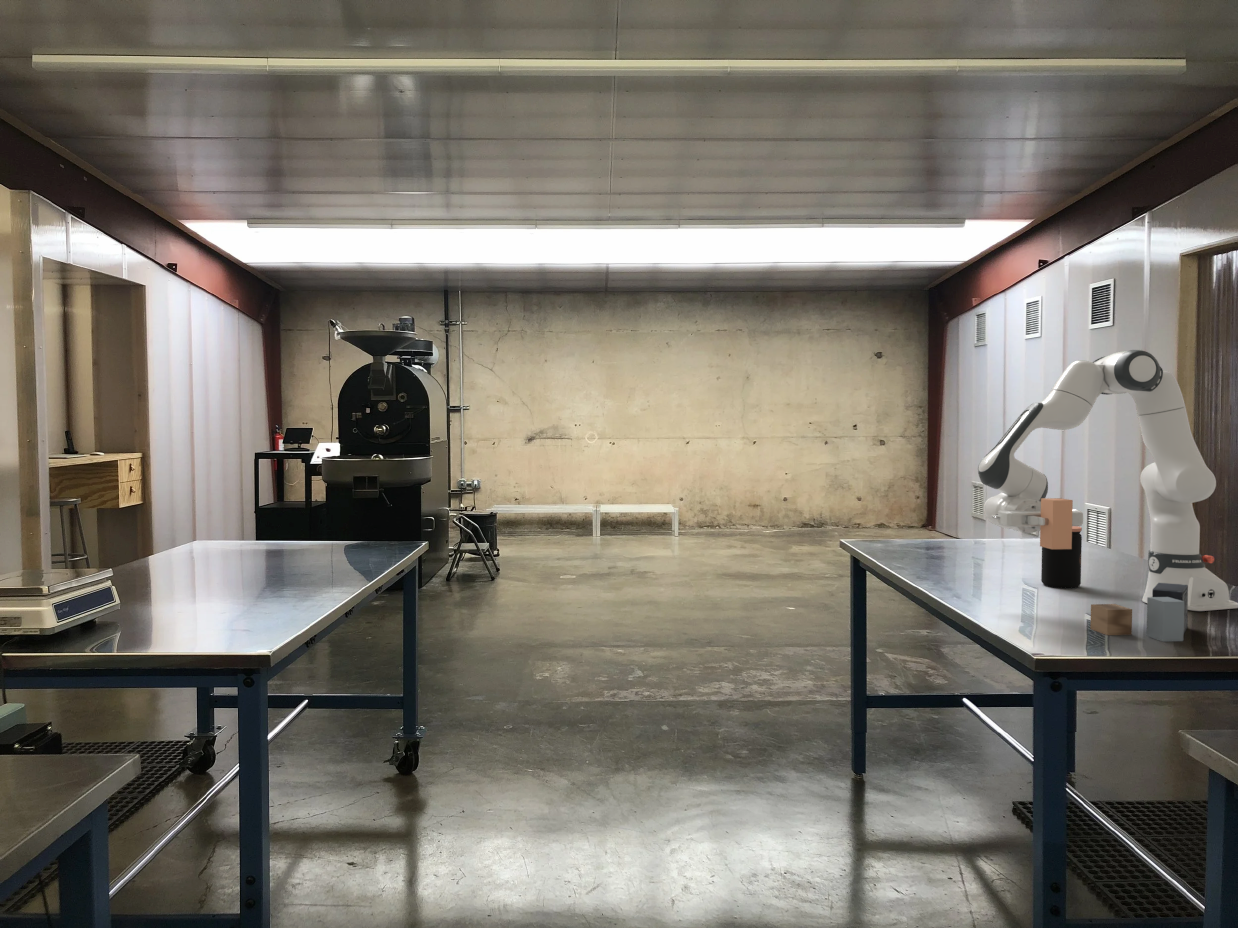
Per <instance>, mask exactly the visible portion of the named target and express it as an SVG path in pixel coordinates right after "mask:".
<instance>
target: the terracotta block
mask: <svg viewBox="0 0 1238 928" xmlns="http://www.w3.org/2000/svg"><path fill="white" fill-rule="evenodd" d="M1072 509H1074V508H1073V499H1069V498H1062V497H1061V498H1051V497H1050V498H1049V497H1048V498H1047V497H1045V498H1041V518H1048V519H1049V521H1048V523H1049V524H1048V525H1040V531H1039V532H1040V534H1039V536H1040V537H1039V547H1041V548H1042V547H1045V548H1049V549H1072Z"/></svg>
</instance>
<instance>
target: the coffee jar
mask: <svg viewBox="0 0 1238 928" xmlns="http://www.w3.org/2000/svg"><path fill="white" fill-rule="evenodd" d="M1082 529H1083V528H1082V527H1081V526H1072V549H1049V548H1045V547H1041V576H1040V578H1041V579H1040V580H1041V583H1042V584H1043V585H1044V586H1046V587H1048V588H1054V589H1055V588H1056V589H1063V590H1064V589H1065V590H1066V589H1068V590H1069V589H1077V588H1079V587H1080V585H1081V583H1082V549H1083V548H1082V542H1083V541H1082V539H1083V537H1082V534H1081V532H1082Z"/></svg>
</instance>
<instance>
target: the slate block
mask: <svg viewBox="0 0 1238 928" xmlns="http://www.w3.org/2000/svg"><path fill="white" fill-rule="evenodd" d="M1146 604H1147V606H1146V607H1147V608H1146V637H1148V638H1151V639H1154V640H1158V641H1159V642H1163V643H1164V642H1165V643H1166V642H1184V635H1185V633H1184V601H1181V600H1177V599H1174V598H1170V597H1147V603H1146Z"/></svg>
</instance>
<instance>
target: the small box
mask: <svg viewBox="0 0 1238 928" xmlns="http://www.w3.org/2000/svg"><path fill="white" fill-rule="evenodd" d="M1152 597H1170V598H1174V599H1177V600H1181V601H1184V634H1185V633H1186V631H1187V629H1188V628H1189V626H1188V625H1189V624H1188V621H1189V620H1188V618H1189V617H1188V615H1189V614H1188V611H1189V610H1188V607H1187V606H1188V585H1183V584H1169V583H1158V584H1157V585H1156V586H1155V587H1154V588H1153V591H1152Z"/></svg>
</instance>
